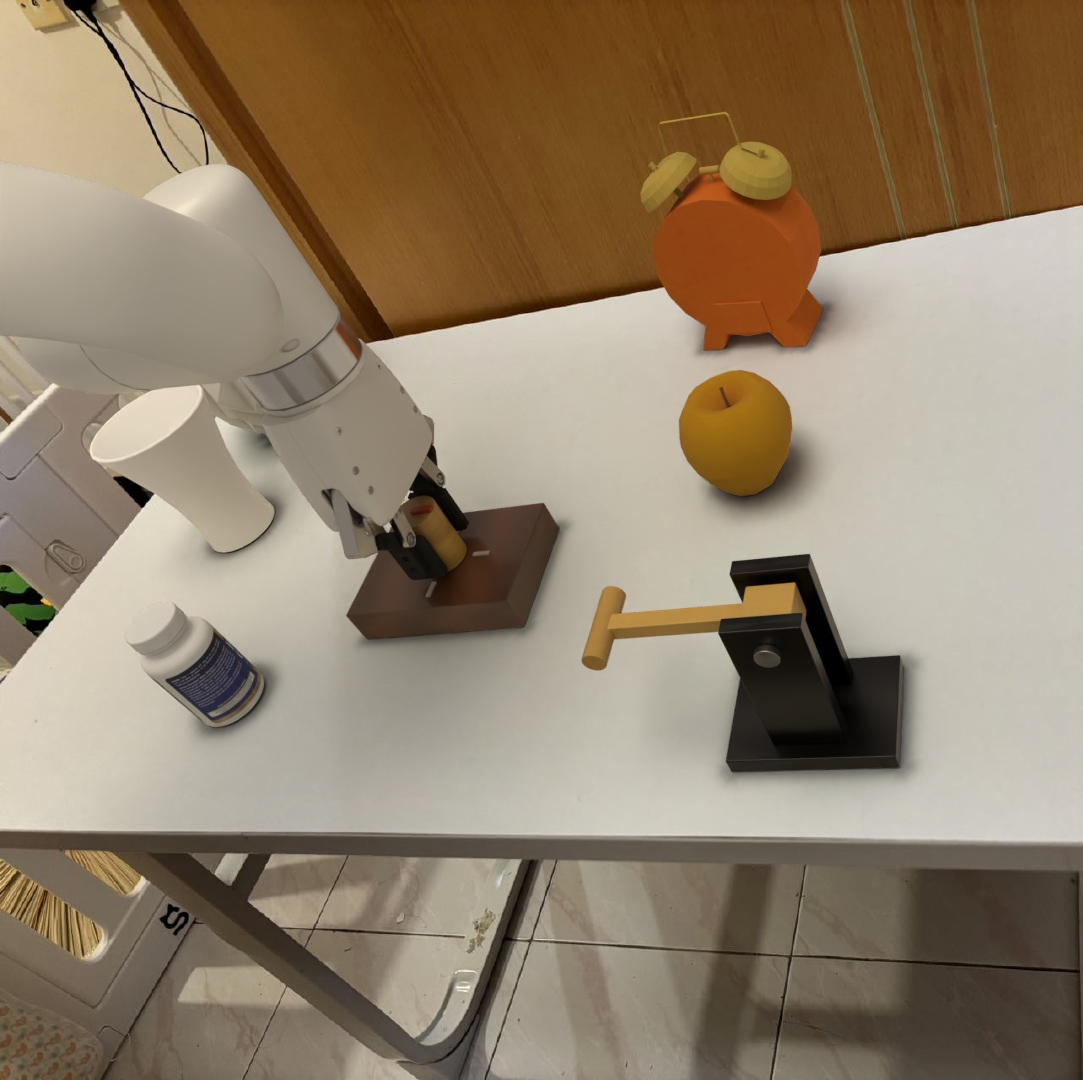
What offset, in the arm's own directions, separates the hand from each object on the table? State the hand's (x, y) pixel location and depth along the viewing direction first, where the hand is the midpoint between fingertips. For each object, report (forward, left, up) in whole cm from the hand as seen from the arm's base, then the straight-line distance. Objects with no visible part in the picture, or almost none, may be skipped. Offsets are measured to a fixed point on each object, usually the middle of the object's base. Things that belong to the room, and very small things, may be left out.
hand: (440, 550), depth 77 cm
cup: (-28, +10, -4) cm, 30 cm away
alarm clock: (+21, +28, -4) cm, 35 cm away
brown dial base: (0, 0, -4) cm, 4 cm away
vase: (-30, +27, -4) cm, 41 cm away
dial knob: (0, 0, -1) cm, 1 cm away
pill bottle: (-17, -10, -4) cm, 20 cm away
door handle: (+25, -14, +5) cm, 29 cm away
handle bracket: (+30, -14, -4) cm, 33 cm away
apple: (+23, +8, -4) cm, 25 cm away
